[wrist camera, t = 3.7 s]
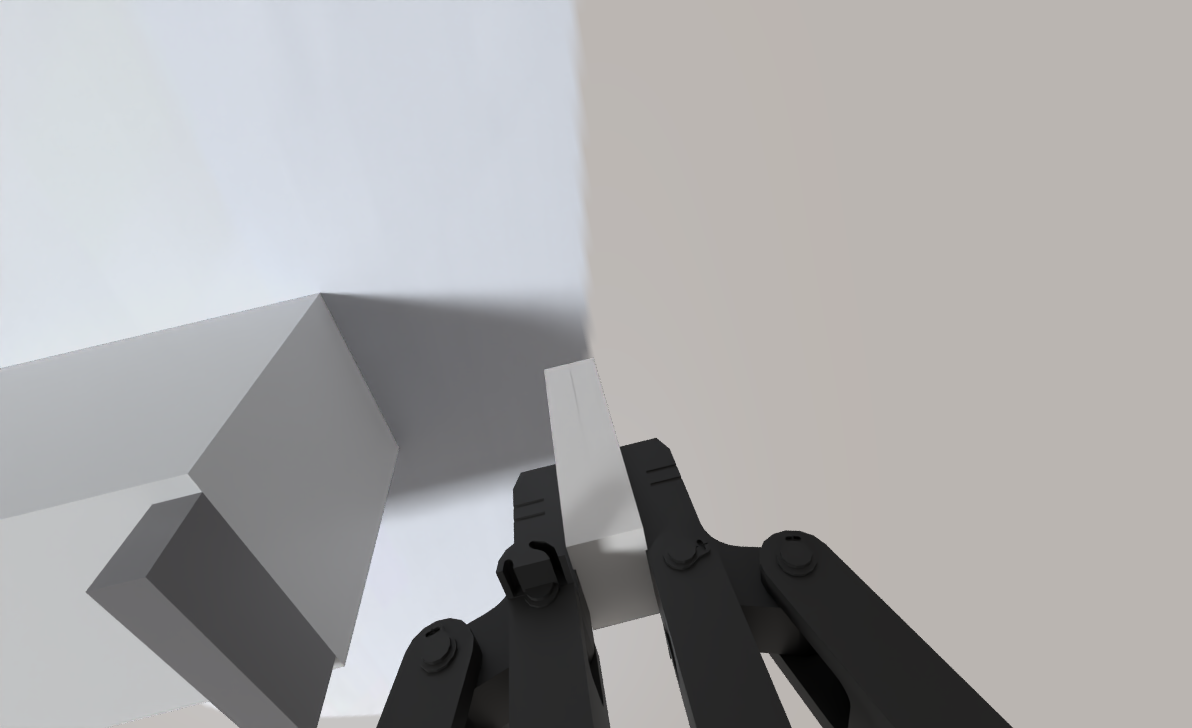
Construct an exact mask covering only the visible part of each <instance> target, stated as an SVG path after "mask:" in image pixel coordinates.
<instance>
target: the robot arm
mask: <svg viewBox="0 0 1192 728" xmlns="http://www.w3.org/2000/svg"><path fill="white" fill-rule="evenodd" d="M544 374H545V382H546V390H547V398H548V406H549V415H550V423H551V431H552V439H553V447H554V455H555V463H556V464H554V465H550V466H546V467H542V468H538V469H534V470H530V471H526V472H522V473H521V474H520V476H519V478H518V480H517V482H516V484H515V486H514V488H513V506H514V544H513V545H512V546H510V547H509V548H508V549H507V550H506V551H505V552H504V554H503V555H502V557H501V558H500V560H499V561H498V566H497V570H496V574H497V576H498V578H499V581H500V583H501V585H502V587H503V589H504V592H505V594H506V597H505V598H504V599H503V600H502V601H501V602H500V603H499V604H498V605H497V606H496V607H494V608H493V609H492V610H490V611H489V612H487V613H486V614H484V615H482V616H481V617H479V618H477V619H475V620H474V621H472V622H470V623H469V624H465V623H464V622H463V621H462V620H458V619H452V618H448V619H443V620H439V621H436V622H434V623H432V624H431V625H429V626H427V627H425V628H424V629H423V630H422V631H421V632H420V633H419V634H418V635H417V636H416V637H415V638H414V639H413V640H412V642H411V644H410V645H409V647H408V649H407V651H406V652H405V655H404V657H403V660H402V663H401V665H400V668H399V670H398V673H397V676H396V678H395V681H394V683H393V686H392V689H391V691H390V694H389V696H388V699H387V702H386V704H385V707H384V709H383V712H382V714H381V717H380V720H379V722H378V725H377V727H376V728H610V723H609V717H608V710H607V705H606V698H605V691H604V686H603V679H602V674H601V666H600V661H599V655H598V652H597V649H596V646H595V643H594V638H593V631H592V627H593V630H596V629H600V628H604V627H608V626H611V625H615V624H619V623H623V622H627V621H631V620H635V619H638V618H642V617H646V616H650V615H654V614H658V613H660V615H661V618H662V622H663V626H664V631H665V636H666V640H667V645H668V650H669V655H670V658H671V659H672V662H673V666H674V669H675V673H676V677H677V680H678V684H679V688H680V692H681V695H682V699H683V702H684V706H685V710H686V713H687V717H688V721H689V725H690V728H791V725H790V723H789V720H788V718H787V716H786V713H785V711H784V708H783V706H782V704H781V701H780V699H779V697H778V694H777V692H776V690H775V687H774V685H773V682H772V680H771V678H770V675H769V673H768V670H767V668H766V666H765V663H764V661H763V659H762V656H761V654H760V652H761V653H769V654H770V656H771V657H772V658H773V659H774V661H775V663H776V664H777V665H778V667H779V668H780V669H781V671H782V672H783V673H784V675H785V676H786V678H787V679H788V680H789V682H790V683H791V685H792V686H793V687H794V689H795V690H796V691H797V693H798V694H799V696H800V697H801V698H802V700H803V701H804V703H805V704H806V705H807V707H808V708H809V709H810V711H811V712H812V714H813V715H814V716H815V717H816V719H817V720H818V722H819V723H820V725H821V726H822V727H823V728H1012V727H1011V726H1010V725H1009V724H1008V723H1007V722H1006V721H1005V720H1004V719H1003V718H1002V717H1001V716H1000V715H999V714H998V713H997V712H996V711H995V710H994V709H993V708H992V707H991V706H990V705H989V704H988V703H987V702H986V701H985V700H984V699H983V698H982V697H981V696H980V695H979V694H978V693H977V692H976V691H975V690H974V689H973V688H972V687H971V686H970V685H969V684H968V683H967V682H965V680H964V679H963V678H961V677H960V676H959V675H958V674H957V673H956V672H955V671H954V670H953V669H952V668H951V667H950V666H949V665H948V664H947V663H946V662H945V661H944V660H943V659H942V658H941V657H940V656H939V655H938V654H937V653H936V652H935V651H934V650H933V649H932V648H931V647H930V646H929V645H928V644H927V643H926V642H925V641H924V640H923V639H922V638H921V637H920V636H918V634H917V633H915V631H914V630H913V629H911V628H910V627H909V626H908V625H907V624H906V623H905V622H904V621H903V620H902V619H901V618H900V617H899V616H898V615H897V614H896V613H895V612H894V611H893V610H892V609H891V608H890V607H889V606H888V605H887V604H886V603H885V602H884V601H883V600H882V599H881V598H880V597H879V596H878V595H877V594H876V593H875V592H874V591H873V590H872V589H871V588H870V587H869V586H868V585H867V584H865V582H864V581H862V580H861V579H860V578H859V577H858V576H857V575H856V574H855V573H854V572H853V571H852V570H851V569H850V568H849V567H848V566H847V565H846V564H845V563H844V562H843V561H842V560H841V559H840V558H839V557H838V556H837V555H836V554H835V553H834V552H833V551H832V550H831V549H830V548H829V547H828V546H827V545H826V544H825V543H823V542H822V541H820V540H819V539H818V538H816V537H815V536H813V535H810V534H807V533H804V532H801V531H782V532H779V533H776V534H773V535H772V536H770V537H769V538H768V539H767V540H765V541H764V543H763V545H762V547H740V546H732V545H728V544H724V543H722V542H719V541H718V540H716V539H714V538H713V537H711V536H710V535H709V534H708V533H707V532H706V531H705V530H704V529H703V527H702V525H701V524H700V521H699V519H698V517H697V514H696V512H695V509H694V507H693V504H692V502H691V499H690V497H689V495H688V492H687V490H686V487H685V485H684V483H683V480H682V479H681V475H680V473H679V470H678V468H677V467H676V463H675V461H674V459H673V456H672V454H671V451H670V449H669V448H668V447H667V446H665V445H664V444H663V443H662V442H661V441H659V440H658V439H657V438H654V439H650V440H646V441H642V442H638V443H634V444H629V445H625V446H622V447H619V444H618V440H617V437H616V433H615V430H614V427H613V423H612V420H611V416H610V413H609V409H608V406H607V402H606V399H605V395H604V392H603V388H602V385H601V382H600V378H599V375H598V371H597V368H596V364H595V361H594V358H589V359H585V360H581V361H577V362H573V363H569V364H565V365H561V366H557V367H552V368H548V369H544Z"/></svg>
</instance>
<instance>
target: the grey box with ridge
mask: <svg viewBox="0 0 1192 728" xmlns="http://www.w3.org/2000/svg"><path fill="white" fill-rule="evenodd" d="M398 452H399V447H398V445H397V443H396V441H395V439H394V437H393V435H392V433H391V431H390V429H389V427H388V425H387V423H386V421H385V419H384V417H383V415H382V413H381V411H380V410H379V408H378V406H377V404H376V402H375V400H374V398H373V396H372V394H371V392H370V390H369V388H368V386H367V384H366V382H365V380H364V378H363V376H362V374H361V372H360V370H359V368H358V366H357V364H356V362H355V360H354V358H353V356H352V355H351V353H350V351H349V349H348V347H347V345H346V343H345V341H344V339H343V337H342V335H341V333H340V331H339V329H338V327H337V325H336V323H335V321H334V319H333V317H332V315H331V313H330V311H329V309H328V307H327V305H326V303H325V302H324V300H323V298H322V296H321V294H320V293H317V294H313V295H309V296H304V297H300V298H296V299H292V300H288V301H283V302H279V303H275V304H271V305H266V306H262V307H258V308H254V309H250V310H245V311H241V312H237V313H233V314H228V315H224V316H220V317H216V318H211V319H207V320H203V321H199V322H195V323H190V324H186V325H182V326H178V327H173V328H169V329H165V330H161V331H157V332H152V333H148V334H144V335H140V336H135V337H131V338H127V339H123V340H119V341H114V342H110V343H106V344H102V345H97V346H93V347H89V348H85V349H81V350H76V351H72V352H68V353H64V354H59V355H55V356H51V357H47V358H43V359H38V360H34V361H30V362H26V363H21V364H17V365H13V366H9V367H5V368H0V728H109V727H113V726H116V725H120V724H124V723H128V722H132V721H135V720H140V719H143V718H147V717H151V716H155V715H159V714H163V713H167V712H170V711H174V710H178V709H182V708H186V707H190V706H194V705H197V704H201V703H205V702H209V701H210V702H211V703H212V704H213V705H214V706H215V707H217V708H218V709H219V710H220V711H221V712H222V713H223V714H225V715H226V716H227V717H228V718H229V719H230V720H232V721H233V722H234V723H235V724H236V725H237V726H238V727H239V728H317V725H318V721H319V717H320V714H321V710H322V706H323V703H324V699H325V695H326V692H327V688H328V684H329V680H330V677H331V673H332V670H333V669H336V668H340V667H344V666H345V663H346V659H347V655H348V651H349V647H350V643H351V639H352V635H353V631H354V627H355V623H356V619H357V615H358V611H359V607H360V603H361V599H362V595H363V591H364V587H365V583H366V579H367V575H368V571H369V567H370V563H371V559H372V555H373V551H374V548H375V544H376V540H377V536H378V532H379V528H380V524H381V520H382V516H383V512H384V508H385V504H386V500H387V496H388V492H389V488H390V484H391V480H392V476H393V472H394V468H395V464H396V460H397V456H398Z"/></svg>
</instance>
